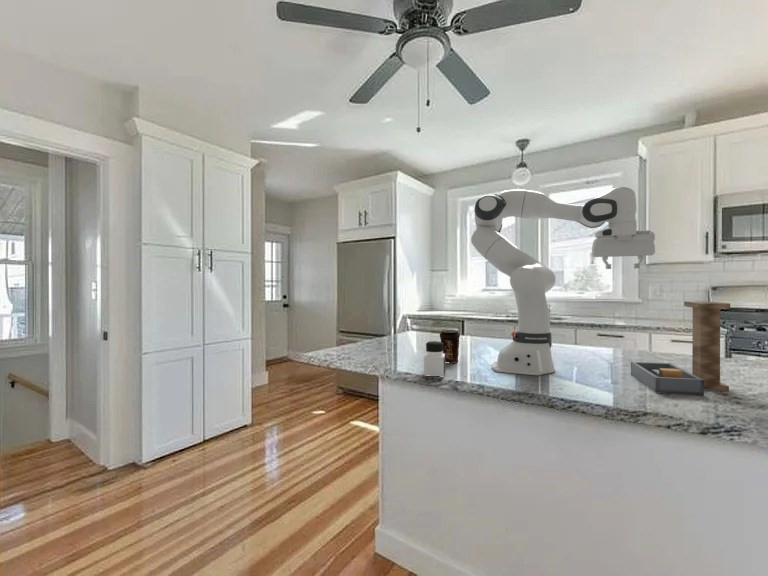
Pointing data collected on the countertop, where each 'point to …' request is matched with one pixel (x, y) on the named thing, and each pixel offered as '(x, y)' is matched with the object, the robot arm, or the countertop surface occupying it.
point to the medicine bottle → (434, 359)
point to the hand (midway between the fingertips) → (622, 268)
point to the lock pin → (667, 372)
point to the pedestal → (707, 343)
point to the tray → (667, 379)
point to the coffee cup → (450, 345)
